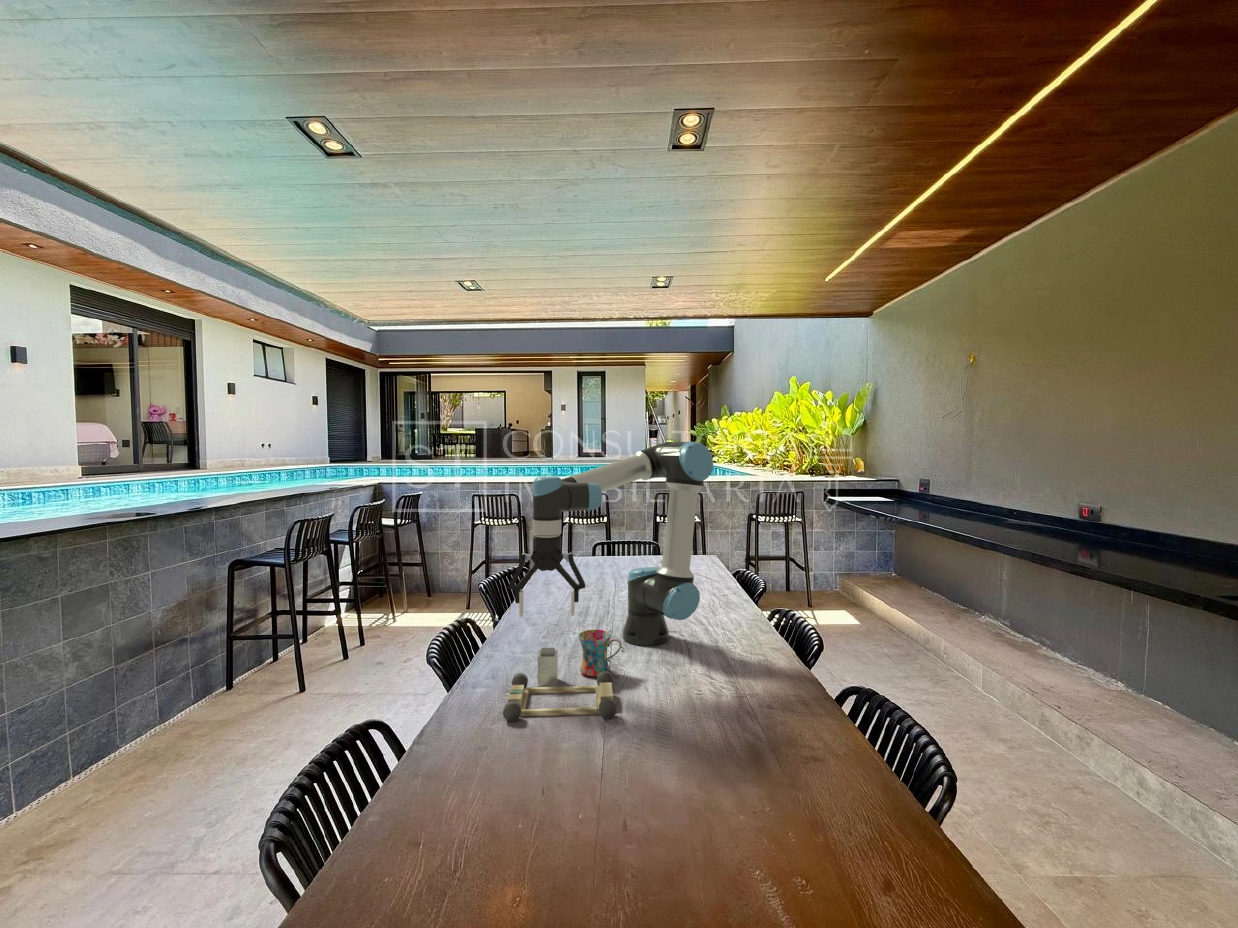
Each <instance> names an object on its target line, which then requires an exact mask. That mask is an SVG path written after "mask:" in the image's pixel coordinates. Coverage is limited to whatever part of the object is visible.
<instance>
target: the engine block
mask: <svg viewBox="0 0 1238 928" xmlns="http://www.w3.org/2000/svg"><path fill="white" fill-rule="evenodd" d="M558 653H559V651H558V649H556V647H541V648H540V649H539V650H538V654H537V687H558V680H559V673H558V671H559V666H558V665H559V661H558V659H559V657H558V656H559V654H558Z"/></svg>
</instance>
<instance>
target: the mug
mask: <svg viewBox="0 0 1238 928" xmlns="http://www.w3.org/2000/svg"><path fill="white" fill-rule="evenodd" d="M577 637H578V640H579V642H580V645H581V649H582V660H581V664H580V667H579V672H580V673H581V674H583V675H584V676H588V677H597V676H598V674H599V673H600V672H602V671H608V672H609V673H610V671H611V668H610V666H609V665H610V664H609V663H611V660H610V659H612V658H614V657H615V656H616V655H617V654H618V653H619V652H620V650H621V649H622V648H621V646H622V642H621V640H619V639H616V638H613V639H612V633H611V632H609V631H608V630H605V629H587V630H583V631H581V632H579V634H577ZM613 642H618V643H619V647H618V649H617V650H616V651H615V653H613V654H611V655H610V656H608V648H609V647H610V645H611V644H612V643H613Z"/></svg>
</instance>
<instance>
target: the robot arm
mask: <svg viewBox="0 0 1238 928" xmlns="http://www.w3.org/2000/svg"><path fill="white" fill-rule="evenodd" d="M713 469H714V459H713V456H712V452H711V451H709V449H708V447H707V446H705V445H704V444H702V443H701V442H696V441H695V442H694V441H675V442H673V441H667V442H662V443H659V444H656V445H653V446H650V447H648V448H645V449H642V450H640V451H636V452H635V453H634V454H633V456H631V457H628V458H624V459H621V460H618V461H615V462H612V463H608V464H605V465H602V466H599V467H595V468H593V469H589V470H586V471H583V472H581V473H577V474H574V475H572V476H570V475H569V477H565V478H561V477H560V476H537V477H535V478H534V480H533V485H532V494H531V495H532V534H533V535H534V536H532V553H531V554H529V553H526V552H522V553H521V555H520V560H519V564H518V565H517V568H516V569H515V571H514V573H513V576H512V578H511V580H510V582H509V584H508V586H507V588H508V589H509V590H513V591H514V601H515V604H518V605H519V606H518V607H519V609H518V611H519V612H518V614H519V615H518V616H519V618H521V617H523V616H524V589H523V587H524V585H526V584H527V582H528V581H529V580H530V578H531V577H532V576H533V575H534V574H535V573H536V572H537V571H538V570H540V571H541V572H545V571H549V572H552V571H555V570H556V571H557V572H558V573H559V574H560V575H561V576H562V577H563V579H564V580H566V581H565V582H567V583H568V584H569V586H571V594H570V595H571V596H570V598H571V600H570V601H571V602H570V603H571V604H570V606H571V608H570V609H571V610H570V612H571V616H572V617H574V616H575V603H579V601H580V599H579V593H580V590H581V589H585V588H586V581H585V579H584V578H583V576H582V574H581V572H580V570H579V568H578V566H577V564H576V562H575V559H574V553H573V552H568V553H564V554H563V552H562V536H561V535H562V513H566V512H579V511H580V512H582V511H587V512H589V511H591V510H597V509H599V508H600V506H601V504H602V501H603V492H606V491H609V490H612V489H615V488H618V487H620V486H623V485H627V484H630V483H633V482H636V481H638V480H642V481H648V480H651V479H658V478H664V479H665V484H666V486H667V487H668V488H669V495H668V502H667V504H668V505H667V514H666V523H665V534H664V543H663V544H664V545H663V552H662V553H663V554H662V563H661V566H660V567H659V566H651V567H640V568H639V567H638V568H634V569H631V570H630V571H629V572H628V574H627V576H628V577H627V617H626V619H625V624H624V626H623V630H622V639H623V641H624V642H626V643H628V644H632V645H635V646H644V647H645V646H649V647H650V646H659V645H662V644H664V643H667V642H668V641H669V637H670V635H669V634H670V631H669V628H668V625H667V622H666V618H668V619H673V620H676V621H683V620H686V619H688V618H690V617H691V616H692V614H694V613H695V611H696V610H697V608H698V606H699V605H700V604H699V603H700V600H701V598H700V595H701V594H700V591H699V590H698V587H697V586H696V585H695V583H694V581H695V579H694V578H695V575H694V573H693V572H692V571H691V562H692V561H691V558H692V551H693V550H692V549H693V539H694V530H695V523H696V522H695V521H696V512H697V511H696V510H697V502H698V493H699V491H701V489H703V488H704V483H705V482H704V481H705V480H707V479H708V478H709V477H710V476H711V474H712V472H713ZM563 559H564V560H565V561H566V562H567V563H568V564H569V566H570V569H571V570H572V572H573V575H574V576H575V578H576V580H577V581H576V580H574V579H573V577H572V576H571V575H570V574H569V573H568V571H567V570H566V569H565V568H564V566H563V565H562V564H561V563H562V561H563ZM529 560H531V561H532V563H533V565H532V567H531V568H530V569H529V571H528V572H527V573H526V574H524V576H523V577H522V579H521V580H520V581H519V582H518V584H516V582H517V580H518V578H519V575H520V574H521V572H522V570H523V568H524V566H525V564H526V563H528V562H529ZM577 582H578V583H577ZM665 617H666V618H665Z"/></svg>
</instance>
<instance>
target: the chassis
mask: <svg viewBox="0 0 1238 928" xmlns="http://www.w3.org/2000/svg"><path fill="white" fill-rule="evenodd" d="M596 677H597V678H596V681H597V682H596V683H597V685H580V686H579V685H576V686H575V685H572V686H568V685H567V686H566V685H565V686H557V687H538V686H536V687H535V686H534V687H532V686H531V687H528V683H529V679H528V676H527V675H526V674H525V673H521V672H517V673H516V674H514V676H513V677H512V680H511V688H510V691H509V695H508V698H507V702H506V703H505V705H504V708H503V711H502V717H503V718H504V720H505V721H507V722H510V723H515V722H516V721H518V719H520V717H542V716H543V717H544V716H574V715H575V716H576V715H577V716H578V715H600V717H602V718H603V719H605V720H606V719H607V720H608V719H612V718H614V717H615V715H616V713H617V705H616V702H615V700H614V694H613V683H614V682H613V675H612V674H611V672H610V671H609V672H608V671H602V672H600V673H599V674H598V676H596ZM567 693H574V694H575V693H595V706H591V707H590V706H589V707H587V706H585V707H555V708H526V707H527V704H528V699H529V695H530V694H532V695H533V694H534V695H536V694H537V695H538V694H567Z"/></svg>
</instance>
